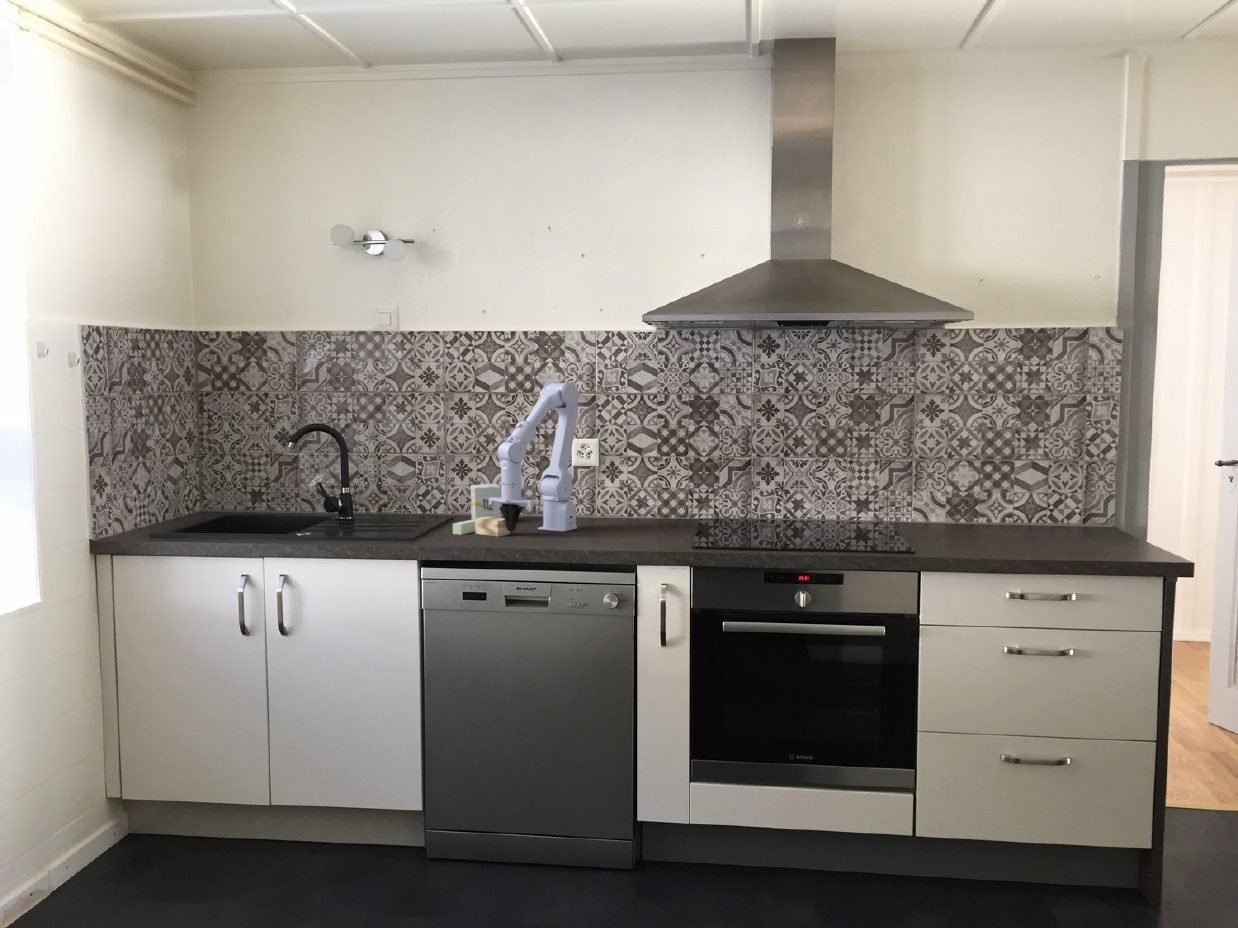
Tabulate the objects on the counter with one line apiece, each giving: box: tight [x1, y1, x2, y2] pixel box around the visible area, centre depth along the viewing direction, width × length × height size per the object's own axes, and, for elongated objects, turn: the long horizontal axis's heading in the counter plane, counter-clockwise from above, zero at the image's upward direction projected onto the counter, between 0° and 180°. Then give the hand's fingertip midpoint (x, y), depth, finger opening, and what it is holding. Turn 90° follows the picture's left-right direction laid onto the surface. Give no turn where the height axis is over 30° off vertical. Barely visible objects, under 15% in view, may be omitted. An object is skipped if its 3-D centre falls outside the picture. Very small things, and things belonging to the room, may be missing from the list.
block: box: [475, 516, 511, 537], centre depth 287 cm, size 9×5×4 cm, turn 54°
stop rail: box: [452, 519, 475, 536], centre depth 292 cm, size 3×14×3 cm, turn 152°
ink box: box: [470, 483, 502, 520], centre depth 310 cm, size 9×9×12 cm
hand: (511, 530), depth 284 cm, fingers closed
